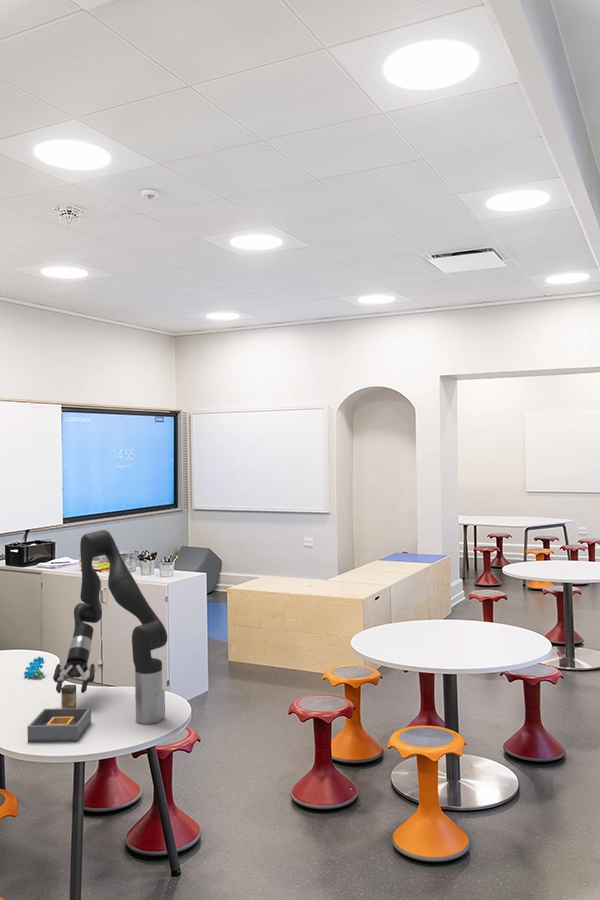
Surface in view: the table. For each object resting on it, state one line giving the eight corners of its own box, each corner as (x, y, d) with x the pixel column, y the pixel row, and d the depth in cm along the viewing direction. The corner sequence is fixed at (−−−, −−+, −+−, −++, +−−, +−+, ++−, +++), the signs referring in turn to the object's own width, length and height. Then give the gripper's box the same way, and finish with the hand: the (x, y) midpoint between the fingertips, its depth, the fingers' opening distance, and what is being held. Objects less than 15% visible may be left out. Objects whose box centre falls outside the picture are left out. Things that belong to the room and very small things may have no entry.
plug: (76, 712, 264) (76, 684, 264) (73, 716, 260) (72, 688, 260) (65, 712, 264) (64, 684, 264) (61, 716, 260) (61, 688, 260)
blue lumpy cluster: (19, 671, 308) (37, 652, 311) (29, 679, 311) (47, 659, 314) (27, 681, 299) (46, 661, 302) (38, 689, 302) (55, 669, 305)
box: (91, 722, 254) (90, 708, 254) (77, 741, 238) (77, 725, 238) (44, 723, 254) (44, 708, 254) (27, 742, 238) (27, 726, 238)
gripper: (58, 646, 273) (48, 687, 261) (96, 645, 273) (88, 687, 262) (62, 656, 278) (53, 697, 267) (100, 656, 278) (92, 696, 267)
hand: (70, 692), depth 264 cm, fingers open, 8 cm apart
